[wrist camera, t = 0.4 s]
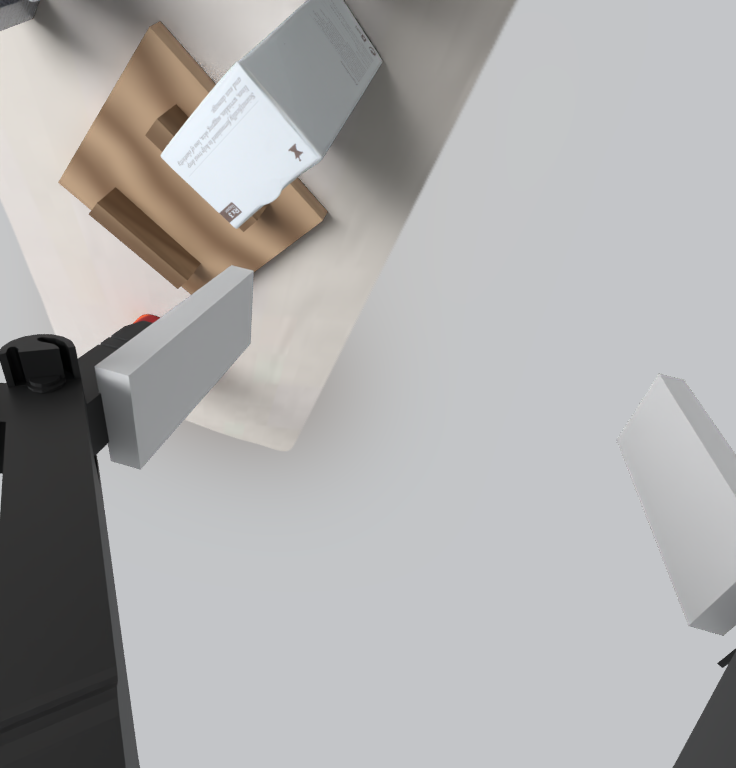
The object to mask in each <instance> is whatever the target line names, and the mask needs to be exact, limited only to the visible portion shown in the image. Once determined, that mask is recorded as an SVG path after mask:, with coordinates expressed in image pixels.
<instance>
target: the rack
mask: <svg viewBox="0 0 736 768" xmlns="http://www.w3.org/2000/svg"><path fill="white" fill-rule="evenodd" d="M38 3H39V1H35V2H31V1H29V0H0V31H2V30H4V29H7V28H10V27H12V26H15V25H18V24H20V23H23V22H25V21H28V20H31V19H33V16H34V14H35V11H36V8H37V6H38Z"/></svg>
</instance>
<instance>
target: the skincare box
mask: <svg viewBox="0 0 736 768" xmlns="http://www.w3.org/2000/svg"><path fill="white" fill-rule="evenodd" d="M381 64H382V59H381V58H380V56H379V54H378V53H377V51H376V50H375V48H374V47H373V45H372V44H371V42H370V41H369V39H368V38H367V36H366V35H365V33H364V32H363V30H362V28H361V27H360V25H359V24H358V22H357V21H356V19H355V18H354V16H353V14H352V12H351V11H350V10H349V8H348V6H347V5H346V3H345V2H344V0H307V1H306V2H305V3H304V4H302V5H301V6H300V7H299V8H298V9H297V10H296V11H295V12H293V13H292V14H291V15H290V16H289V17H288V18H287V19H286V20H285V21H283V22H282V23H281V24H280V25H279V26H278V27H277V28H276V29H275V30H274V31H272V32H271V33H270V34H269V35H268V36H267V37H266V38H265V39H264V40H262V41H261V42H260V43H259V44H258V45H257V46H256V47H255V48H254V49H252V50H251V51H250V52H249V53H248V54H247V55H245V56H244V57H243V58H242V59H241V60H239V61H237V62H236V63H235V64H234V65H233V66H232V67H231V68H230V69H229V70H228V72H227V73H226V74H225V75H224V76H223V77H222V78H221V79H220V81H219V82H218V83H217V84H216V85H215V86H214V88H213V89H212V90H211V91H210V92H209V94H208V95H207V96H206V97H205V98H204V100H203V101H202V102H201V103H200V105H199V106H198V107H197V108H196V110H195V111H194V112H193V113H192V114H191V116H190V117H189V118H188V120H187V121H186V122H185V123H184V125H183V126H182V127H181V128H180V130H179V131H178V132H177V133H176V135H175V136H174V137H173V138H172V140H171V141H170V142H169V144H168V145H167V146H166V148H165V149H164V151H163V152H162V154H161V158H162V159H163V160H164V161H165V162H166V163H167V164H168V165H169V166H170V167H171V168H172V169H173V170H174V171H175V172H176V173H177V174H178V175H179V176H180V177H181V178H182V179H184V180H185V181H186V182H187V183H188V184H189V185H190V186H191V187H192V188H193V189H194V190H195V191H196V192H197V193H198V194H199V195H200V196H201V197H202V198H204V199H205V200H206V201H207V202H208V203H209V204H210V205H211V206H212V207H213V208H214V209H215V210H216V211H217V212H218V213H219V214H221V215H222V216H223V217H224V218H225V219H226V220H227V221H228V222H229V223H230V224H231V225H232V226H233V227H234V228H236V229H238V228H239V227H240V226H241V225H242V224H243V223H244V222H245V221H247V220H248V219H249V218H250V217H251V216H252V215H253V214H254V213H256V212H257V211H258V210H259V209H260V208H262V207H263V206H264V205H266V204H269V203H271V202H273V201H274V200H275V199H277V198H278V197H279V195H280V194H281V191H282V190H283V189H284V188H285V187H287V186H288V185H289V184H290V183H291V182H293V181H294V180H295V179H296V178H297V177H299V176H300V175H301V174H303V173H304V172H305V171H307V170H308V169H310V168H311V167H313V166H314V165H316V164H317V163H319V162H320V161H321V160H322V159H323V157H324V156H325V154H326V152H327V151H328V149H329V148H330V146H331V144H332V143H333V141H334V140H335V138H336V136H337V135H338V133H339V132H340V130H341V128H342V127H343V125H344V124H345V122H346V120H347V119H348V117H349V115H350V114H351V112H352V111H353V109H354V107H355V106H356V104H357V103H358V101H359V100H360V98H361V96H362V95H363V93H364V91H365V90H366V88H367V86H368V85H369V83H370V82H371V80H372V78H373V77H374V75H375V74H376V72H377V70H378V68H379V67H380V65H381Z"/></svg>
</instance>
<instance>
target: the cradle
mask: <svg viewBox="0 0 736 768" xmlns="http://www.w3.org/2000/svg"><path fill="white" fill-rule="evenodd" d="M215 85H216V84H215V83H214V82H213V81H212V80H211V78H210V77H209V76H208V75H207V74H206V73H205V72H204V70H203V69H202V68H201V67H200V66H199V65H198V64H197V62H196V61H195V60H194V59H193V58H192V57H191V56H190V55H189V53H188V52H187V51H186V50H185V49H184V48H183V47H182V45H181V44H180V43H179V42H178V41H177V40H176V39H175V37H174V36H173V35H172V34H171V33H170V32H169V31H168V29H167V28H166V27H165V26H164V25H163V24H162V23H161V22H158V23H156V24H154V25H152V26H150V27H149V29H148V30H147V32H146V34H145V35H144V37H143V39H142V40H141V42H140V44H139V46H138V47H137V49H136V51H135V52H134V54H133V56H132V58H131V59H130V61H129V63H128V64H127V66H126V68H125V70H124V71H123V73H122V75H121V76H120V78H119V80H118V81H117V83H116V85H115V87H114V88H113V90H112V92H111V93H110V95H109V97H108V99H107V100H106V102H105V104H104V105H103V107H102V109H101V110H100V112H99V114H98V116H97V117H96V119H95V121H94V122H93V124H92V126H91V128H90V129H89V131H88V133H87V134H86V136H85V138H84V140H83V141H82V143H81V145H80V146H79V148H78V150H77V151H76V153H75V155H74V157H73V158H72V160H71V162H70V163H69V165H68V167H67V169H66V170H65V172H64V174H63V175H62V177H61V179H60V180H59V182H58V183H60V184H61V185H62V186H63V187H64V188H66V189H67V190H68V191H69V192H70V193H71V194H73V195H74V196H75V197H76V198H77V199H79V200H80V201H81V202H82V203H83V204H84V205H86V206H87V207H88V208H89V209H90V210H92V211H91V212H90V213H89V215H90V216H91V217H93V218H94V219H95V220H96V221H97V222H99V223H100V224H101V225H102V226H103V227H105V228H106V229H107V230H108V231H109V232H111V233H112V234H113V235H114V236H115V237H117V238H118V239H119V240H120V241H121V242H122V243H124V244H125V245H126V246H127V247H128V248H130V249H131V250H132V251H133V252H134V253H136V254H137V255H138V256H139V257H140V258H142V259H143V260H144V261H145V262H146V263H148V264H149V265H150V266H151V267H152V268H154V269H155V270H156V271H157V272H158V273H159V274H161V275H162V276H163V277H164V278H165V279H167V280H168V281H169V282H170V283H171V284H173V285H174V286H175V287H176V288H177V289H178V288H179V287H181V286H182V287H183V288H184V289H185V290H186V291H187V292H189V293H190V294H191V295H192V294H193V293H195V292H196V291H197V290H199V289H200V288H201V287H203V286H204V285H205V284H207V283H208V282H209V281H211V280H212V279H213V278H215V277H216V276H218V275H219V274H220V273H222V272H223V271H224V270H226V269H227V268H228V267H230V266H231V265H233V266H237V267H241V268H245V269H249V270H253V271H254V272H255V271H256V270H258V269H259V268H260V267H262V266H263V265H264V264H266V263H267V262H268V261H270V260H271V259H272V258H274V257H275V256H276V255H278V254H279V253H280V252H282V251H283V250H284V249H286V248H287V247H288V246H290V245H291V244H292V243H294V242H295V241H296V240H298V239H299V238H300V237H302V236H303V235H304V234H306V233H307V232H308V231H310V230H311V229H312V228H314V227H315V226H316V225H318V224H319V223H320V222H322V221H323V219H324V218H325V216H326V214H327V210H326V209H325V208H324V207H323V206H322V205H321V204H320V202H319V201H318V200H317V199H316V198H315V197H314V196H313V194H312V193H311V192H310V191H309V190H308V189H307V188H306V187H305V185H304V184H303V183H302V182H301V181H300V180H299V179H298V177H297V178H296V179H295V180H294V181H293V182H291V183H290V184H289V185H288V186H287V187H285V188H284V189H283V190H282V191H281V194H280V195H279V197H278V198H277V199H275V200H274V201H273V202H271V203H269V204H266V205H264V206H263V207H262V208H260V209H259V210H258V211H257V212H256V213H254V214H253V215H252V216H251V217H250V218H249V219H248V220H247V221H245V222H244V223H243V224H242V225H241V226H240V227H239V228H238V229H236V228H234V227H233V226H232V225H231V224H230V223H229V222H228V221H227V220H226V219H225V218H224V217H223V216H222V215H221V214H219V213H218V212H217V211H216V210H215V209H214V208H213V207H212V206H211V205H210V204H209V203H208V202H207V201H206V200H205V199H204V198H202V197H201V196H200V195H199V194H198V193H197V192H196V191H195V190H194V189H193V188H192V187H191V186H190V185H189V184H188V183H187V182H186V181H185V180H184V179H182V178H181V177H180V176H179V175H178V174H177V173H176V172H175V171H174V170H173V169H172V168H171V167H170V166H169V165H168V164H167V163H166V162H165V161H164V160H163V159H162V158H161V154H162V152H163V151H164V149H165V148H166V146H167V145H168V144H169V142H170V141H171V140H172V138H173V137H174V136H175V135H176V133H177V132H178V131H179V130H180V128H181V127H182V126H183V125H184V123H185V122H186V121H187V120H188V118H189V117H190V116H191V114H192V113H193V112H194V111H195V110H196V108H197V107H198V106H199V105H200V103H201V102H202V101H203V100H204V98H205V97H206V96H207V95H208V94H209V92H210V91H211V90H212V89H213V88H214V86H215Z"/></svg>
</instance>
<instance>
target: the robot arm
mask: <svg viewBox="0 0 736 768" xmlns="http://www.w3.org/2000/svg"><path fill="white" fill-rule="evenodd" d="M253 278H254V271H253V270H249V269H245V268H241V267H237V266H233V265H231V266H230V267H228V268H227V269H226V270H224V271H223V272H222V273H220V274H219V275H218V276H216V277H215V278H213V279H212V280H211V281H209V282H208V283H207V284H205V285H204V286H203V287H201V288H200V289H199V290H197V291H196V292H195V293H193V294H192V295H190V296H189V297H188V298H186V299H185V300H184V301H182V302H181V303H180V304H178V305H177V306H176V307H174V308H173V309H172V310H170V311H169V312H167V313H166V314H165V315H163V316H162V317H161V318H159V319H158V320H157V321H155V322H154V323H151V322H148V321H144V320H143V321H140V322H137V323H134V324H131V325H128V326H125V327H123V328H122V329H120V330H119V331H117V332H116V333H114V334H113V335H112V337H111V338H110V337H109V338H107V339H106V340H104V341H103V342H101V345H97V346H96V347H94V348H93V349H91V350H90V351H88V352H87V353H85V354H84V355H83V356H81V357H80V358H78V359H77V353H76V348H75V346H74V344H73V342H72V341H71V340H69V339H67V338H65V337H62V336H57V335H52V334H50V335H49V334H37V335H31V336H25V337H21V338H18V339H16V340H13V341H10V342H9V343H7V344H6V345H4V346H3V347H2V348H1V349H0V363H1V365H2V369H3V372H4V375H5V379H6V382H7V383H0V473H2V474H3V479H2V496H1V512H0V768H140V765H139V760H138V753H137V746H136V739H135V732H134V724H133V716H132V710H131V702H130V694H129V687H128V680H127V673H126V665H125V658H124V650H123V643H122V636H121V628H120V621H119V613H118V606H117V599H116V591H115V584H114V577H113V569H112V562H111V555H110V547H109V540H108V532H107V525H106V517H105V510H104V503H103V495H102V488H101V481H100V473H99V466H98V460H97V455H96V454H97V453H98V452H99V451H100V450H101V449H102V448H103V447H104V446H105V445H107V443H108V447H109V452H110V458H111V461H113V462H116V463H120V464H123V465H127V466H130V467H134V468H137V469H141V468H142V467H143V466H144V465H145V464H146V463H147V462H148V460H149V459H150V458H151V457H152V456H153V454H154V453H155V452H156V451H157V450H158V449H159V448H160V447H161V446H162V444H163V443H164V442H165V441H166V440H167V439H168V438H169V436H170V435H171V434H172V433H173V432H174V431H175V429H176V428H177V427H178V426H179V425H180V424H181V423H182V421H183V420H184V419H185V418H186V417H187V416H188V415H189V413H190V412H191V411H192V410H193V409H194V408H195V407H196V405H197V404H198V403H199V402H200V401H201V400H202V399H203V397H204V396H205V395H206V394H207V393H208V392H209V391H210V389H211V388H212V387H213V386H214V385H215V384H216V383H217V381H218V380H219V379H220V378H221V377H222V376H223V374H224V373H225V372H226V371H227V370H228V369H229V368H230V366H231V365H232V364H233V363H234V362H235V361H236V360H237V358H238V357H239V356H240V355H241V354H242V353H243V352H244V350H245V349H246V348H247V347H248V346H249V345H250V343H251V321H252V299H253ZM617 443H618V445H619V448H620V450H621V453H622V456H623V458H624V461H625V463H626V466H627V469H628V471H629V474H630V476H631V479H632V481H633V484H634V486H635V489H636V492H637V494H638V497H639V499H640V502H641V504H642V507H643V510H644V512H645V515H646V518H647V520H648V523H649V525H650V528H651V530H652V533H653V536H654V538H655V541H656V543H657V545H658V548H659V551H660V553H661V556H662V559H663V561H664V564H665V566H666V569H667V572H668V574H669V577H670V579H671V582H672V584H673V587H674V590H675V592H676V595H677V597H678V600H679V602H680V604H681V608H682V610H683V613H684V615H685V618H686V620H687V623H688V625H689V626H691V627H694V628H698V629H702V630H705V631H708V632H712V633H715V634H719V635H722V636H724V635H725V634H726V633H727V632H728V631H729V630H731V629H732V628H733V627H734V626H735V625H736V454H735V453H734V451H733V450H732V448H731V447H730V446H729V444H728V443H727V441H726V440H725V438H724V437H723V436H722V434H721V433H720V431H719V430H718V428H717V427H716V425H715V424H714V423H713V421H712V420H711V418H710V417H709V415H708V414H707V412H706V411H705V410H704V408H703V407H702V405H701V404H700V402H699V401H698V400H697V398H696V397H695V395H694V394H693V392H692V391H691V389H690V388H689V387H688V385H687V384H686V382H685V381H684V380H682V379H678V378H674V377H670V376H666V375H662V374H658V376H657V377H656V379H655V381H654V382H653V384H652V385H651V387H650V388H649V390H648V392H647V393H646V395H645V396H644V398H643V399H642V401H641V403H640V404H639V406H638V407H637V409H636V410H635V412H634V413H633V415H632V417H631V418H630V420H629V421H628V423H627V424H626V426H625V428H624V429H623V431H622V432H621V434H620V435H619V437H618V438H617ZM727 664H728V667H727V668H726V670H725V672H724V674H723V676H722V677H721V679H720V681H719V683H718V685H717V687H716V689H715V690H714V692H713V694H712V696H711V698H710V700H709V702H708V704H707V705H706V707H705V709H704V711H703V713H702V715H701V716H700V718H699V720H698V722H697V724H696V726H695V728H694V729H693V731H692V733H691V735H690V737H689V739H688V740H687V742H686V744H685V746H684V748H683V750H682V752H681V754H680V756H679V757H678V759H677V761H676V763H675V765H674V766H673V768H736V649H734V650H733V651H732V652H731V653H730V654H728V655H727V656H726V657H725V658H724V659H722V660H721V661H720V662H719V663H718V665H720V666H721V667H722V668H723V667H724V666H726V665H727Z"/></svg>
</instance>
